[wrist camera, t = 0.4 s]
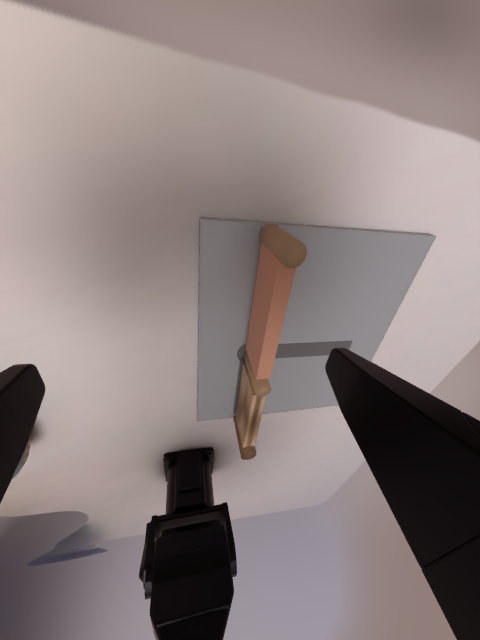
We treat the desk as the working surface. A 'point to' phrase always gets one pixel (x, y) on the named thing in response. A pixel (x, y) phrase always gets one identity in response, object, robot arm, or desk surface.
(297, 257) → the fence panel
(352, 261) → the card
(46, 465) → the desk surface
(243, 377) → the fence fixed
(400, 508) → the robot arm
